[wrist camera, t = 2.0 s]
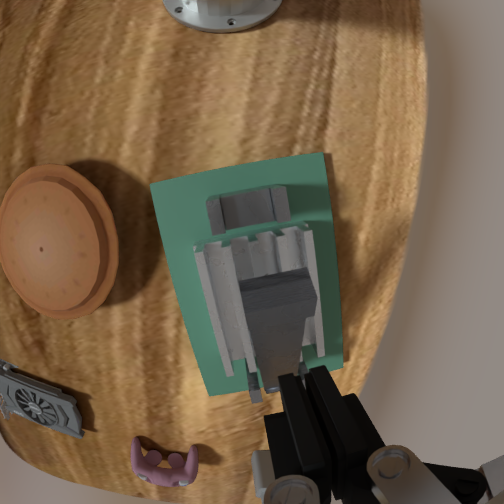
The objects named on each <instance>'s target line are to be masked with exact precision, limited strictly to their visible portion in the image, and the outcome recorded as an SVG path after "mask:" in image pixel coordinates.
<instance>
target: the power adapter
mask: <svg viewBox="0 0 504 504" xmlns="http://www.w3.org/2000/svg"><path fill="white" fill-rule="evenodd" d="M251 462H252V470H253V477H254V485H255V493H256V497H259V498H261V499H262V504H264V494H265V490H266V489H267V488H268V486H269V485H270V484H271V483H272V482H273V481H275V476H274V470H273V465H272V460H271V454H270V450H258V451H254V452H253V454H252V458H251Z"/></svg>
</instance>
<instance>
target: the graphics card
mask: <svg viewBox="0 0 504 504" xmlns="http://www.w3.org/2000/svg"><path fill="white" fill-rule="evenodd" d="M10 368H18V366H15V365H13V364H11V363H8V362H6V361H4V360H2V359H0V392H1V395H2V397H3V400H4V401H3V404H2V406H1V402H2V398H1V400H0V409H1V411H2V413H3V415H4V417H5V418H7V420H8V419H9V418H10V416H9V412H11V414H12V413H15V414H17V415H20V416H22V417H24V418H26V419H29V420H31V421H33V422H36V423H38V424H41V425H43V426H46V427H48V428H51V429H54V430H56V431H59V432H62V433H65V434H68V435H70V436H73V437H77V438H80V439H81V438H83V435H84V433H85V432H84V431H83V430H82V429H81V424H82V417H81V415H80V413H79V411H78V409H77V407H76V405H75V404H76V402H77V401H76V400H75V398H74V397H73V396H70V395H67V394H63V393H62V391H61V389H58V388H55V387H53V386H50V385H47V384H44V383H42V382H39V381H36V380H34V379H31V378H29V377H26V376H24V375H22V374H19V373H17V374H16V373H14V372H12V371H11V370H10ZM3 369H4V370H3ZM19 392H20V394H19ZM1 395H0V396H1ZM5 409H6V410H7V411H6V410H5ZM5 412H6V413H7V414H6V413H5Z"/></svg>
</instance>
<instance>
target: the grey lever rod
mask: <svg viewBox="0 0 504 504" xmlns="http://www.w3.org/2000/svg"><path fill="white" fill-rule="evenodd" d="M239 287H240V292H241V297H242V303H243V308H244V313H245V317H246V321H247V325H248V329H249V330H250V334H251V338H252V342H253V346H254V350H255V354H256V358H257V362H258V366H259V370H260V374H261V378H262V382H263V386H264V390H265V391H266V394H269V393H273V392H278V391H280V388H279V382H278V376H280V375H284V374H289V373H293V374H294V376H297V375H298V369H299V362H300V356H301V349H302V343H303V336H304V329H305V321H306V318H308V317H312V316H315V311H316V305H317V299H318V297H317V294H316V291H315V288H314V286H313V283H312V280H311V277H310V274H309V271H308V269H307V267H304V268H299V269H295V270H290V271H285V272H280V273H275V274H270V275H266V276H261V277H256V278H251V279H246V280H241V281H239Z"/></svg>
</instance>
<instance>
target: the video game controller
mask: <svg viewBox="0 0 504 504" xmlns="http://www.w3.org/2000/svg"><path fill="white" fill-rule="evenodd" d="M161 461H162V456H161V454H160V453H159V452H158V451H156V450H150V451H149V452H148V453H147V455H146V456H145V457H144V456H143V454H142V451H141V445H140V441H139V438H138V437H135V438H134V439H133V440H132V444H131V464H132V470H133V472H134V473H135V474H136V475H137V476H138V477H140V478H141V479H143V480H145V481H147V482H150V483H152V484H156V485H160V486H167V487H176V486H186V485H188V484H191V483H193V482H194V480H195V479H196V476H197V472H198V450H197V447H196V446H195V445H192V446H191V448H190V450H189V453H188V457H187V462H185V461H184V460H183V458H182V456H181V455H180V454H178V453H172V454H170V455H169V456H168V462H169V464H170V466H171V467H172V469H168V468H161V467H157V465H158V464H160V463H161Z"/></svg>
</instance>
